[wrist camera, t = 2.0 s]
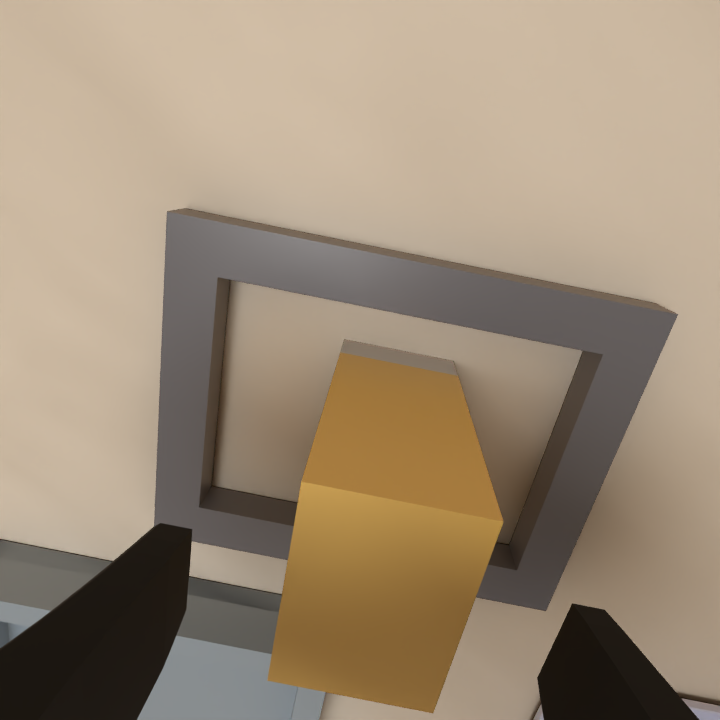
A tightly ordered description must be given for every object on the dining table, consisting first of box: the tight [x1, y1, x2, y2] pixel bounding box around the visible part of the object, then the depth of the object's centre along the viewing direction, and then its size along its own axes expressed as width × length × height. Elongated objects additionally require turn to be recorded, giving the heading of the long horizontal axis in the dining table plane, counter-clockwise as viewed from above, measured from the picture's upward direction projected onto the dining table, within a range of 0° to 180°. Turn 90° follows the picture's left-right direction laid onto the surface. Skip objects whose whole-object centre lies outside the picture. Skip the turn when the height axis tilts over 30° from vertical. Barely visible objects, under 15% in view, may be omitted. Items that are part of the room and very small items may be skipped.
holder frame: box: [154, 208, 678, 611], centre depth 16 cm, size 14×11×1 cm
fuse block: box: [267, 339, 503, 713], centre depth 13 cm, size 4×5×8 cm
